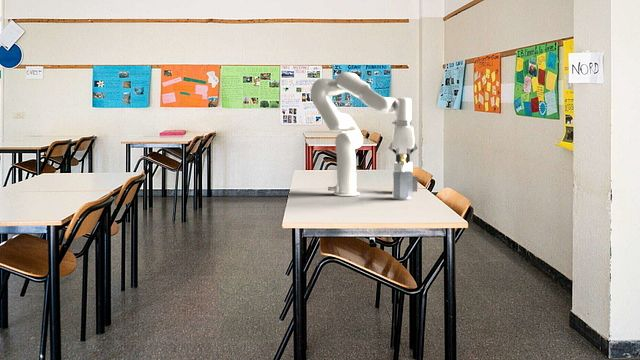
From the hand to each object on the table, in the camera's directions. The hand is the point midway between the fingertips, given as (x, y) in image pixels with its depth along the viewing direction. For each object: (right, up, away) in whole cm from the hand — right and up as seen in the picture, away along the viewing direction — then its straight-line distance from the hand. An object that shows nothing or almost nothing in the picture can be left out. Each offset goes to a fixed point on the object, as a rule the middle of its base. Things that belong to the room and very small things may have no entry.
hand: (402, 162), depth 298 cm
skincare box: (+3, -15, +22) cm, 27 cm away
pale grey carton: (+1, -17, +2) cm, 17 cm away
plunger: (0, -11, +1) cm, 12 cm away
